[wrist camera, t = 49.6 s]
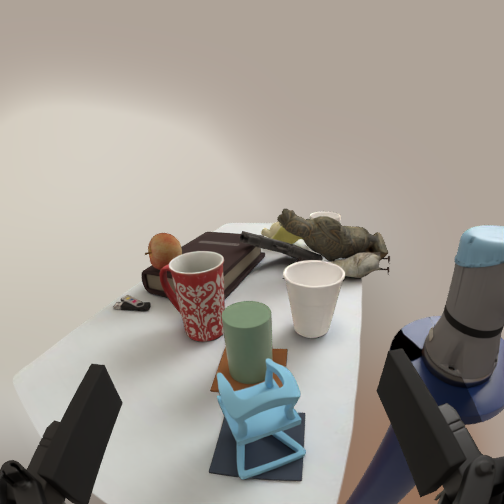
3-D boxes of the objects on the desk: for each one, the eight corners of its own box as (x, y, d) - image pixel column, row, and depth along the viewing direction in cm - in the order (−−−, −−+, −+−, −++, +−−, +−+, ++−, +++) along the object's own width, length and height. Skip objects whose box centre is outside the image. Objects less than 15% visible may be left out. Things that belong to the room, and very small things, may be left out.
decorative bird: (331, 287, 64) (322, 274, 71) (393, 276, 65) (379, 265, 72) (331, 265, 62) (321, 253, 69) (394, 255, 63) (380, 245, 70)
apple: (187, 267, 60) (150, 268, 56) (175, 271, 67) (142, 272, 62) (185, 229, 61) (148, 228, 57) (173, 236, 68) (140, 236, 63)
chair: (275, 409, 34) (274, 338, 29) (306, 456, 26) (316, 390, 22) (217, 427, 31) (200, 358, 27) (241, 480, 24) (227, 421, 20)
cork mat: (287, 350, 45) (287, 349, 45) (283, 396, 36) (283, 395, 36) (225, 347, 47) (225, 346, 47) (210, 391, 38) (210, 389, 38)
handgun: (267, 256, 62) (237, 241, 72) (322, 267, 75) (290, 253, 84) (272, 243, 62) (240, 229, 71) (325, 256, 74) (294, 243, 83)
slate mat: (304, 414, 33) (305, 412, 33) (301, 481, 24) (301, 480, 24) (227, 409, 34) (226, 408, 34) (209, 472, 25) (208, 471, 25)
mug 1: (240, 322, 54) (234, 253, 49) (214, 351, 46) (202, 276, 41) (186, 308, 59) (175, 246, 54) (157, 331, 51) (141, 264, 47)
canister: (274, 356, 44) (273, 301, 40) (270, 385, 38) (268, 328, 34) (233, 354, 45) (227, 300, 41) (225, 382, 39) (216, 326, 35)
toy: (275, 215, 98) (313, 210, 87) (281, 233, 100) (319, 231, 90) (250, 234, 89) (291, 231, 79) (258, 253, 92) (298, 253, 81)
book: (204, 250, 90) (202, 231, 87) (265, 255, 82) (264, 235, 80) (144, 292, 66) (139, 269, 64) (216, 307, 58) (213, 281, 56)
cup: (323, 308, 56) (326, 256, 52) (350, 336, 47) (357, 278, 43) (275, 320, 53) (274, 265, 49) (296, 352, 44) (298, 292, 40)
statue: (367, 275, 78) (272, 258, 67) (359, 247, 83) (269, 224, 72) (394, 256, 70) (297, 231, 59) (385, 226, 74) (291, 196, 64)
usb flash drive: (146, 307, 58) (147, 311, 58) (155, 294, 62) (156, 298, 63) (112, 306, 58) (113, 310, 59) (122, 294, 63) (123, 298, 64)
